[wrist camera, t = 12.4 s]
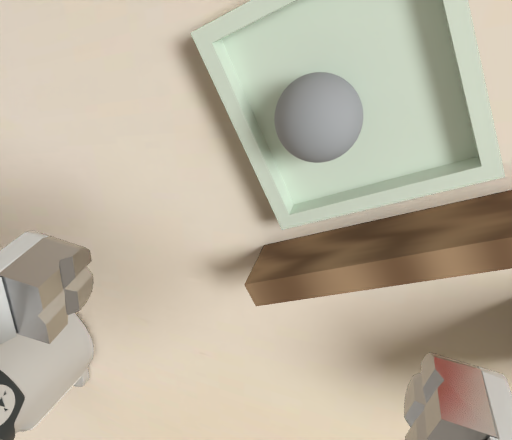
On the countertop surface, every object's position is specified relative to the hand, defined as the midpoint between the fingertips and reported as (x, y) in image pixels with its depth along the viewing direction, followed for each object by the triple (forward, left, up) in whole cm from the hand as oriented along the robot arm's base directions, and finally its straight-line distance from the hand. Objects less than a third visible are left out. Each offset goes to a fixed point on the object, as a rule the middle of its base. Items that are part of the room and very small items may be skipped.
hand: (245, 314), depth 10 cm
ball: (-1, 0, -16) cm, 16 cm away
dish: (0, 0, -19) cm, 19 cm away
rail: (0, -10, -19) cm, 22 cm away
